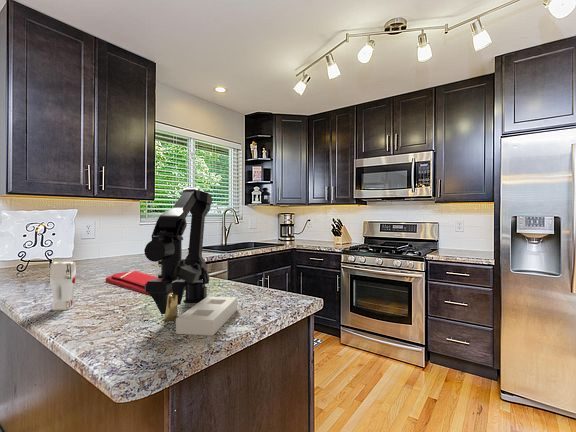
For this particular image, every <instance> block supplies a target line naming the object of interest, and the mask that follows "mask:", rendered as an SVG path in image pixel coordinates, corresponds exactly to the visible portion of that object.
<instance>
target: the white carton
mask: <svg viewBox="0 0 576 432" xmlns="http://www.w3.org/2000/svg"><path fill="white" fill-rule="evenodd" d="M76 268H77V267H76V261H74V260H61V261H55V262H51V263H50V268H49V282H50V288H51V289H50V290H51V292H52V305H51V310H52V311H54V312H57V311H58V312H61V311H66V310H67V311H68V310H70V309H71V310H72V309H73V308H75V303H74V298H73V297H74V296H73V294H74V290H75V284H76V279H77V273H76V272H77V270H76Z"/></svg>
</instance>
